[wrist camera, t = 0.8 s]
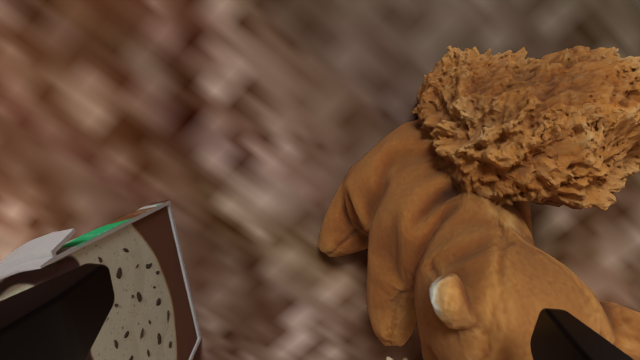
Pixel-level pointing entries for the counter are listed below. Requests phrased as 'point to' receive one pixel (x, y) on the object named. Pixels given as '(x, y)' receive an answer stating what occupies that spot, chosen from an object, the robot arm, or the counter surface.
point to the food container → (122, 282)
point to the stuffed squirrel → (489, 200)
